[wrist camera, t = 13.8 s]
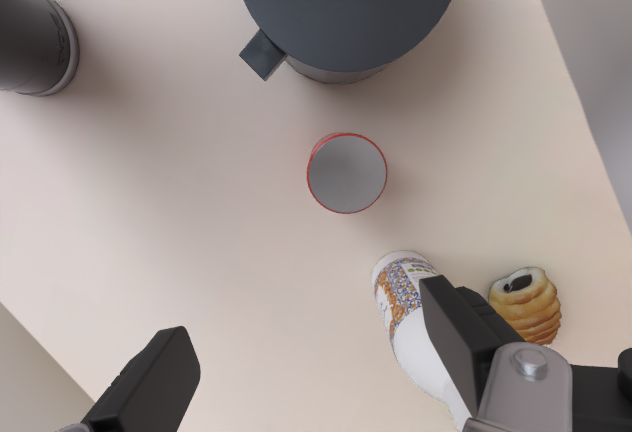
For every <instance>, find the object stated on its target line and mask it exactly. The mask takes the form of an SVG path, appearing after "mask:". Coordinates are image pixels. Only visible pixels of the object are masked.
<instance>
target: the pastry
mask: <svg viewBox="0 0 632 432" xmlns="http://www.w3.org/2000/svg"><path fill="white" fill-rule="evenodd" d="M556 295H557V289H556V287H555V286H554V285H553V284H552V283H551V282H550V281H549V280H548V278H547V277H546V275H545V271H544V270H543V269H541V268H537V267H534V268H529V267H527V268H523V269H521V270H518V271H516V272H515V273H513V274H512V275H510V276H509V277H508V278H506V279H502V280H499V281H497V282H495V283H494V284H493V285H492V287H491V289H490V293H489V305H491V306H492V307H493V308H494V309H495V310H496V313H499V314H500V315H501V316H502V317H503V318H504V319H505V321H506V322H507V323H508V324H509V325H510V326H511V327H512V328H513V329H514V330H515V331H516V332H517V333H518V334H519V335H520V336H521V337H522V338H523V339H524V340H525V341H526V342H528V343H534V344H538V345H543V344H550V343H552V341H553V339H554V338H555V337H556V335H557V330H558V328H559V327H560V321H559V319H560V318H561V317H562V315H561V312H560V310H559V309H560V302H559V300H558V299H557V297H556Z"/></svg>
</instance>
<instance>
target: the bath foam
mask: <svg viewBox="0 0 632 432" xmlns="http://www.w3.org/2000/svg"><path fill="white" fill-rule="evenodd" d="M437 275H439V274H438V273H437V271H436V270H435V269H434V268H433V267H432V266H431V265H430V263H429V262H428V261H427V260H426V259H425V258H424V257H422V256H421V255H419V254H417V253H415V252H412V251H396V252H393V253H390V254H388V255H386V256H385V257H383V258H382V259H381V260H380V261H379V262H378V263H377V264H376V266H375V268H374V270H373V273H372V277H371V285H372V289H373V292H374V295H375V299H376V301H377V304H378V307H379V310H380V313H381V316H382V319H383V322H384V325H385V328H386V331H387V334H388V336H389V339H390V342H391V345H392V348H393V351H394V354H395V357H396V359H397V361H398V363H399V364H400V366H401V368H402V370H403V371H404V373H405V374H406V375H407V377H408V378H409V379H410V380H411V381H412V382H413V383H414V384H415V385H416V386H417V387H418V388H420V389H421V390H422V391H424V392H425V393H427V394H428V395H430V396H432V397H433V398H435V399H437V400H439V401H441V402H443V403H446V405H447V408H448V410H449V412H450V414H451V416H452V418H453V420H454V423H455V425H456V427H457V429H458V431H459V432H462V430H463V427H464V424H465V422H466V420H467V419H468V418H469V417H471V418H472V416H471V414H470V412H469V411H468V409H467V407H466V405H465V403H464V401H463V400H462V398H461V396H460V394H459V392H458V390H457V389H456V387H455V385H454V383H453V381H452V379H451V378H450V376H449V374H448V372H447V370H446V368H445V366H444V365H443V363H442V361H441V359H440V357H439V355H438V354H437V352H436V350H435V348H434V346H433V344H432V343H431V341H430V339H429V336H428V333H427V330H426V327H425V323H424V317H423V310H422V303H421V297H420V290H419V279H422V278H427V277H432V276H437Z"/></svg>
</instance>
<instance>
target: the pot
mask: <svg viewBox="0 0 632 432" xmlns="http://www.w3.org/2000/svg"><path fill="white" fill-rule="evenodd" d="M239 56H240V57H241V58H242V59H243V60H244V61H245V62H246V63H247V64H248V65H249V66H250V67H251V68H252V69H253V70H254V71H255V72H256V73H257V74H258V75H259V76H260V77H261V78H262V79H263V80H264V81H267V79H268V78H269V77H270V76H271V75H272V74H273V72H274V71H275V70H276V69H277V68H278V67H279V66H280V64H281V63H282V62H283V61H284V60H286V61H287V62H288V63H289V64H290V65H291V66H292V67H293V68H294V69H295V70H296V71H298V72H299V73H301V74H303V75H305V76H307V77H309V78H311V79H314V80H317V81H320V82H322V83H329V84H345V83H355V82H357V81H359V80H362V79H364V78H367V77H369V76H371V75H373V74H375V73H377V72H379V71H381V70H382V69H383V68H384V67H385V66H386V65H384V66H381V67H379V68H376V69H373V70H369V71H364V72H358V73H332V72H327V71H322V70H318V69H315V68H312V67H309V66H306V65H304V64H302V63H300V62H298V61H296V60H294V59H293V58H291V57H290V56H288V55H287V54H285V53H284V52H283V51H281V50H280V49H279V48H278V47H277V46H276V45H275V44H273V43H272V42H271V41H270V40H269V39H268V37H267V36H266V35H265V34H264V33H263V32H262V30H261V29H260V30H259V31H258V32H257V33H256V35H255V36H254V37H253V38H252V39H251V41H250V42H249V43H248V44H247V45H246V47H245V48H244V49H243V50H242V51H241V53H240V54H239Z"/></svg>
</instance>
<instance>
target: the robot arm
mask: <svg viewBox="0 0 632 432" xmlns="http://www.w3.org/2000/svg"><path fill="white" fill-rule="evenodd" d="M78 57H79V50H78V42H77V38H76V34H75V31H74V28H73V26H72V24H71V22H70V20H69V19H68V17H67V15H66V14H65V13H64V11H63V10H62V9H61V8H60V7H59V5H58V4H57V3H56V2H54V1H53V0H0V90H2V91H10V92H16V93H19V94H25V95H33V96H45V95H50V94H53V93H56V92H58V91H59V90H61V89H62V88H64V87H65V86H66V85H67V84H68V83H69V82H70V80H71V79H72V77H73V75H74V73H75V71H76V68H77V64H78ZM419 290H420V297H421V303H422V310H423V317H424V323H425V327H426V330H427V333H428V336H429V339H430V341H431V343H432V344H433V346H434V348H435V350H436V352H437V354H438V355H439V357H440V359H441V361H442V363H443V365H444V366H445V368H446V370H447V372H448V374H449V376H450V378H451V379H452V381H453V383H454V385H455V387H456V389H457V390H458V392H459V394H460V396H461V398H462V400H463V401H464V403H465V405H466V407H467V409H468V411H469V412H470V414H471V416H472V418H471V417H469V418H468V419H467V420H466V422H465V424H464V427H463V430H462V432H632V348H629V349H626V350H624V351H623V352H621V353H620V355H619V357H618V368H610V367H593V366H579V365H572V364H569V363H568V362H567V360H566V359H565V358H564V357H563V356H561V355H560V354H559V353H557V352H555V351H554V350H552V349H550V348H547V347H545V346H542V345H538V344H534V343H528V342H526V341H525V340H524V339H523V338H522V337H521V336H520V335H519V334H518V333H517V332H516V331H515V330H514V329H513V328H512V327H511V326H510V325H509V324H508V323H507V322H506V321H505V319H504V318H503V317H502V316H501V315H500V314H499V313H496V310H495V309H494V308H493V307H492V306H491V305H488V302H487V301H486V300H485V299H484V298H483V297H482V296H481V295H480V294H479V293H477V292H475V291H473V290H470V289H468V288H466V287H464V286H463V287H458V288H454V287H453V286H452V285H451V283H450V282H449V281H448V280H447V279H446V278H445V277H444V276H443V275H437V276H432V277H427V278H422V279H419ZM199 381H200V364H199V361H198V359H197V356H196V353H195V351H194V348H193V345H192V343H191V340H190V337H189V335H188V332H187V330H186V329H185V327H183V326H179V327H174V328H169V329H164V330H160V331H158V332H157V333H156V334H155V336H154V337H153V338H152V339H151V341H150V342H149V343H148V345H147V346H146V347H145V348H144V349H143V350H142V351H141V352H140V353H138V354H137V355H136V356H135V357H134V358H132V359H131V360H130V361H129V362H128V364H127V365H126V366H125V367H124V368H123V370H122V371H121V372H120V375H119V376H117V377H116V378H115V380H114V381H113V382H112V383H111V386H110V387H108V388H107V390H106V391H105V392H104V393H103V395H102V396H101V397H100V398H99V400H98V401H97V402H96V403H95V405H94V406H93V407H92V408H91V410H90V411H89V412H88V413H87V415H86V416H85V417H84V418H83V420H82V421H81V422H80V423H77V424H72V425H69V426H67V427H64V428H62V429H60V430H58V431H56V432H177V430H178V428H179V425H180V423H181V421H182V419H183V417H184V415H185V412H186V410H187V408H188V406H189V404H190V401H191V399H192V397H193V395H194V393H195V391H196V388H197V386H198V384H199Z"/></svg>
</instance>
